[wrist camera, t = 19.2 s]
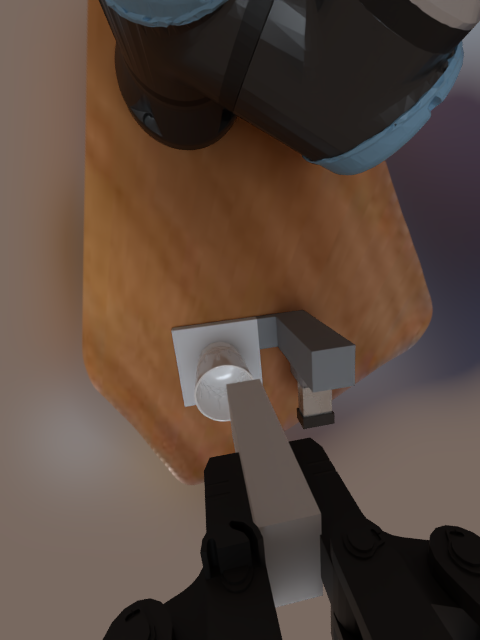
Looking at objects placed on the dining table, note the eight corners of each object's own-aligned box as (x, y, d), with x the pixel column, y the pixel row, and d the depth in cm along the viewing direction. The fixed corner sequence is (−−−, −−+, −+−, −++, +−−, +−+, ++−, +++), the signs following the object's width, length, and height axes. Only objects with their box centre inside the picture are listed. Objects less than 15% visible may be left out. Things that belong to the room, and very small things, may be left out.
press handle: (288, 359, 42) (301, 376, 37) (317, 355, 43) (334, 370, 38) (291, 407, 44) (303, 429, 39) (318, 402, 45) (334, 423, 40)
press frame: (172, 328, 45) (160, 375, 29) (303, 309, 47) (355, 345, 32) (185, 401, 48) (180, 477, 33) (305, 381, 51) (353, 443, 36)
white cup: (238, 332, 45) (250, 357, 35) (248, 376, 47) (262, 412, 38) (188, 345, 44) (186, 374, 35) (201, 389, 47) (203, 428, 37)
